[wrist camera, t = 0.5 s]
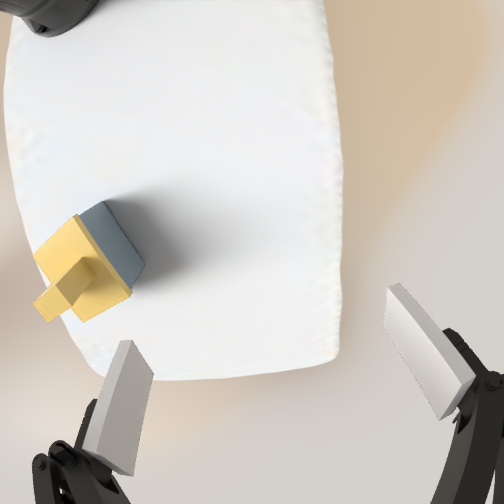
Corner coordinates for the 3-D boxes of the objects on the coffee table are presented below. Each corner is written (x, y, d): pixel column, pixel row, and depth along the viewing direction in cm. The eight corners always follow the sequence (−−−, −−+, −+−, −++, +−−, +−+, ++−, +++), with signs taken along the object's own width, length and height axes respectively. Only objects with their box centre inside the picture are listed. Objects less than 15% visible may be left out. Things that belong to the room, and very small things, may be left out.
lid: (40, 249, 31) (4, 279, 22) (81, 211, 29) (40, 238, 21) (88, 314, 36) (64, 354, 27) (134, 288, 34) (111, 332, 26)
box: (64, 232, 37) (38, 252, 30) (102, 200, 36) (77, 216, 28) (104, 288, 42) (85, 316, 35) (145, 263, 40) (129, 291, 33)
